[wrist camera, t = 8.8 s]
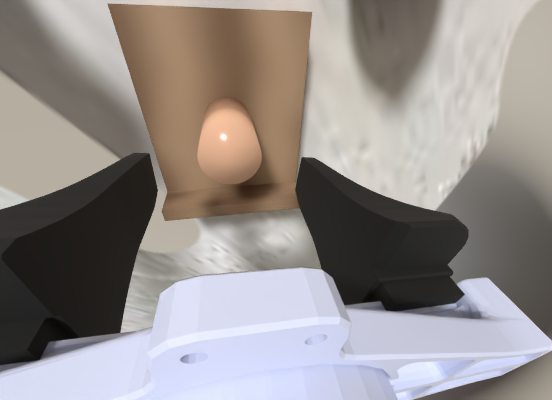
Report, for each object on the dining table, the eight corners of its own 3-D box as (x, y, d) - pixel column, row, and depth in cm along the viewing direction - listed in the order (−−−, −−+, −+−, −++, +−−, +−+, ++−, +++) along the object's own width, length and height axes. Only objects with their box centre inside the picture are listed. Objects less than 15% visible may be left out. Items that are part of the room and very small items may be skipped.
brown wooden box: (175, 184, 22) (165, 220, 18) (123, 5, 14) (85, 1, 10) (288, 176, 24) (301, 207, 20) (300, 12, 16) (326, 11, 12)
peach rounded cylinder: (205, 143, 17) (200, 184, 13) (201, 95, 15) (193, 126, 11) (251, 144, 18) (260, 183, 14) (252, 98, 16) (263, 127, 12)
